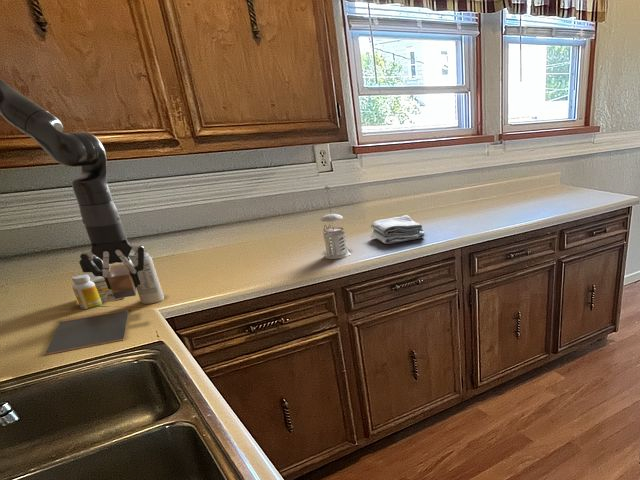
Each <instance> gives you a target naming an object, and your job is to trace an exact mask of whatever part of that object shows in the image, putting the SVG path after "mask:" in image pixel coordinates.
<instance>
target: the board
mask: <svg viewBox="0 0 640 480" xmlns="http://www.w3.org/2000/svg"><path fill="white" fill-rule="evenodd" d="M128 316H129V309H123V310H118V311H117V310H116V311H111V312H106V313H105V312H104V313H101V314H93V315H88V316H82V317H77V318H72V319H66V320H60V321H59V323H58V326H57V327H56V330H55V332H54V334H53V336H52V338H51V340H50V342H49V345H48V347H47V349H46V350H45V353H44V354H43V356H44V357H45V356H49V355H55V354H60V353H61V354H62V353H65V352H70V351H77V350H79V349H80V350H81V349H86V348H90V347H91V348H92V347H97V346H102V345H107V344H112V343H117V342H123V341H125V334H126V328H127V322H128V318H129V317H128Z"/></svg>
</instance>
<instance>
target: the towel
mask: <svg viewBox="0 0 640 480" xmlns="http://www.w3.org/2000/svg"><path fill="white" fill-rule="evenodd" d="M370 228H371V229H372V231H371V235H372V236H373V237H374V238H375V239H377V240H378V241H380V242H382V243H384V244H385V245H393V244H398V243H403V242H408V241H413V240H419V239H424V238H425V231H424V229H423V225H422V224H421V223H419V222H416V221H414V220H413V219H412V218H411V216H409V215H408V214H404V215H401V216H394V217H388V218H382V219H377V220H374V221H373V222H372V223H371V225H370Z"/></svg>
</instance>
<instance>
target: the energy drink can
mask: <svg viewBox="0 0 640 480" xmlns="http://www.w3.org/2000/svg"><path fill="white" fill-rule="evenodd" d="M128 257H129V258H130V260H131V261H132V263H133V264H134V266H136V265H138V255H137V254H135V252H134V251H131V252H130V254H129V256H128ZM155 267H156V266H155V265H154V261H153V257H152V256H151V255H150V254H149V253H148V251H147V250H144V269H143V270H140V271H138V275H139V278H140V281H141V282H140V285H139V287H137V290H136V292H137V294H138V297H139V300H140V303H141V304H145V305H151V304H152V305H153V304H157V303H160V302H162V301H164V299H165V296H164V292H163V289H162V286H161V284H160V280H159V277H158V274H157V271H156V268H155Z"/></svg>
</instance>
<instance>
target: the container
mask: <svg viewBox="0 0 640 480" xmlns="http://www.w3.org/2000/svg"><path fill="white" fill-rule="evenodd" d="M92 256H93V260H92V261H93V262H94V263H95V265H96V266H97V267H98V269H99V270H103V261H102V260H101V259H100V258H98V257H97V256H95V255H92ZM78 262H79V265H80V268H81V270H82V274H88V275H89V277H90V280H89V281H92V282H94V283H95V285H96V288H97V291H98V293H99V296H100V298H101V301H102V303H108V302H115V301H119V300H125V299H126V297H123V298H117V299H115V297H114V294H113V292H112V289H109V288H108V287H107V284H106V281H105V279H104V277H102V276H94V275H93V273H92V272H91V271H90V269H89V268H88V267H87V265H86V264H85V263H84V261H83V260H82V259H81V258H80V260H79V261H78ZM109 271H110V270H109Z"/></svg>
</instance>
